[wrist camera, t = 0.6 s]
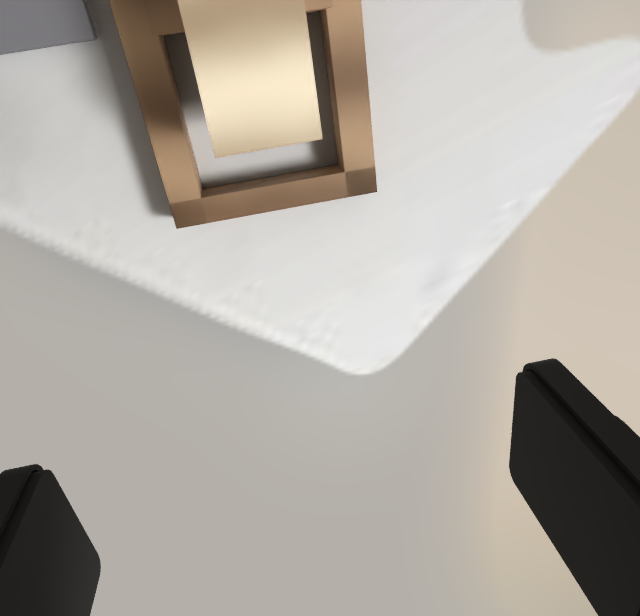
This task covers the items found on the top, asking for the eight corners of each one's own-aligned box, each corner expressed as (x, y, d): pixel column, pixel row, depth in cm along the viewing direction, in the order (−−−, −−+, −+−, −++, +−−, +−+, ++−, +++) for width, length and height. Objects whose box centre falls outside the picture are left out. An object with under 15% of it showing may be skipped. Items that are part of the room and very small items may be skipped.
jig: (44, -251, 21) (-35, -371, 15) (326, -284, 22) (363, -411, 15) (179, 217, 31) (166, 262, 25) (369, 183, 32) (401, 217, 25)
